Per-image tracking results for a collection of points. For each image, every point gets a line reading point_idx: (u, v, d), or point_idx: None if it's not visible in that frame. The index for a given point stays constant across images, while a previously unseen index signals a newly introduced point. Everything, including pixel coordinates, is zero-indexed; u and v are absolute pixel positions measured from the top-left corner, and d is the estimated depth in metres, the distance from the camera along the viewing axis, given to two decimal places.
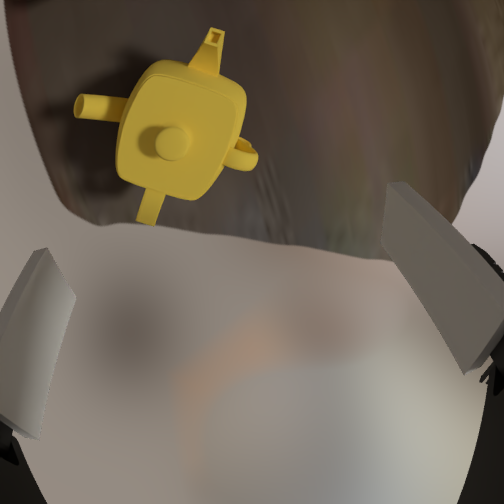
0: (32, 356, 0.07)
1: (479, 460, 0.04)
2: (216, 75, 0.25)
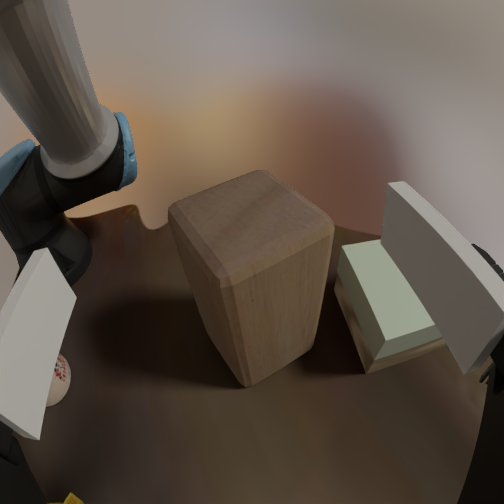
0: (32, 356, 0.07)
1: (479, 460, 0.04)
2: None
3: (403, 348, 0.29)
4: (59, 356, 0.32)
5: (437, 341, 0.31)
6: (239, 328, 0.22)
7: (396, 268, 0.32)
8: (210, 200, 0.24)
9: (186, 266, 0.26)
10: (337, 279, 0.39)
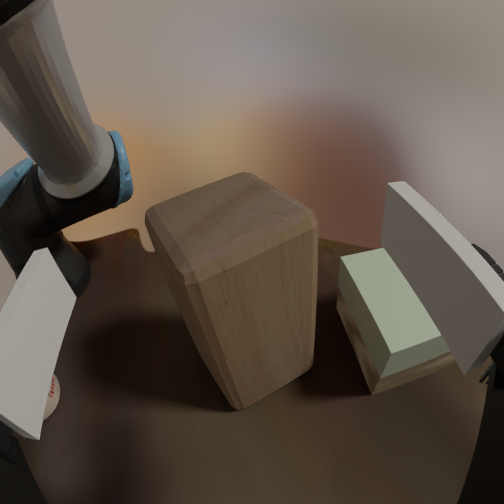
0: (32, 356, 0.07)
1: (479, 460, 0.04)
2: None
3: (413, 363, 0.25)
4: None
5: (450, 355, 0.26)
6: (215, 336, 0.20)
7: (400, 276, 0.29)
8: (187, 201, 0.22)
9: (165, 274, 0.24)
10: (338, 294, 0.36)
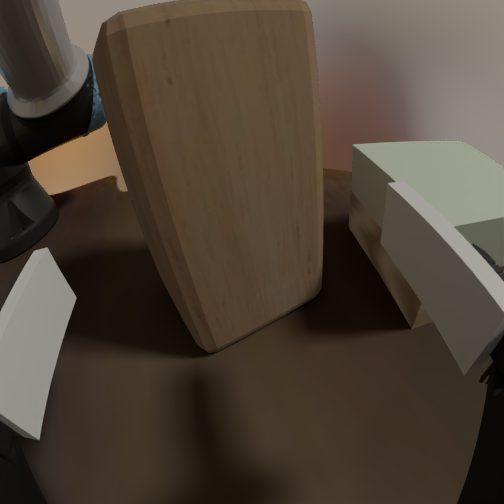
0: (32, 356, 0.07)
1: (480, 460, 0.04)
2: None
3: None
4: None
5: None
6: (150, 151, 0.11)
7: (433, 162, 0.20)
8: None
9: (107, 121, 0.15)
10: (351, 204, 0.27)
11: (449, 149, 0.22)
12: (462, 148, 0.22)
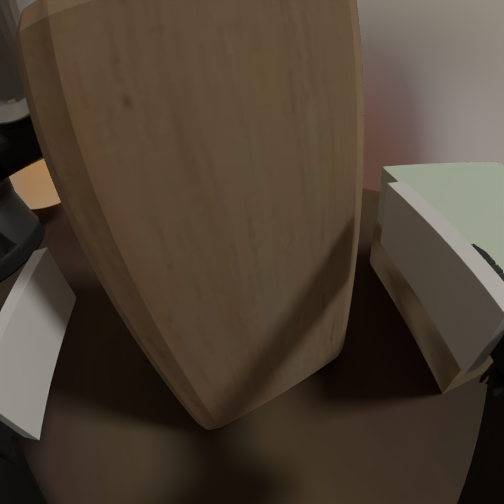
0: (32, 356, 0.07)
1: (480, 460, 0.04)
2: None
3: None
4: None
5: None
6: (104, 225, 0.07)
7: (476, 193, 0.16)
8: None
9: None
10: (375, 237, 0.23)
11: (489, 174, 0.18)
12: (501, 172, 0.18)
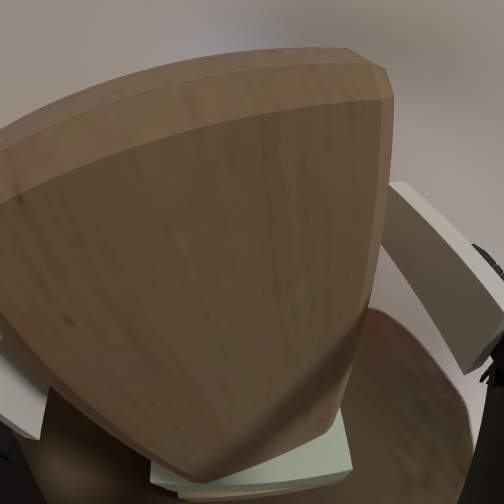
0: None
1: (480, 460, 0.04)
2: None
3: (214, 491, 0.17)
4: None
5: (297, 488, 0.18)
6: (78, 398, 0.06)
7: None
8: None
9: None
10: None
11: None
12: None
